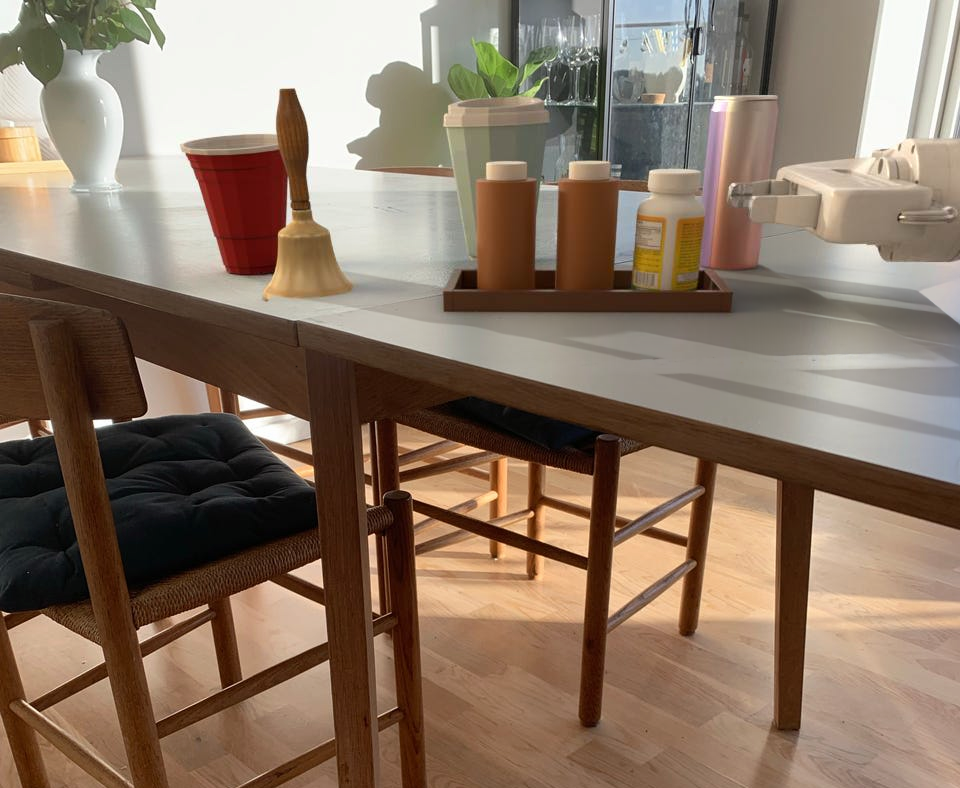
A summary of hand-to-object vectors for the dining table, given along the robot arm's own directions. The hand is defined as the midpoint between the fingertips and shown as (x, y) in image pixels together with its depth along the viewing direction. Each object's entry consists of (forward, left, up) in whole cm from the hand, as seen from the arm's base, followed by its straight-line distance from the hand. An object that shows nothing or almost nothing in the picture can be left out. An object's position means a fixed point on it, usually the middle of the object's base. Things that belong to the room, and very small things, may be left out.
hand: (738, 201), depth 75 cm
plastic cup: (+42, -22, -8) cm, 48 cm away
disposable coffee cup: (+17, -25, -8) cm, 32 cm away
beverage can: (-5, -16, -8) cm, 19 cm away
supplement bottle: (+5, 0, -8) cm, 9 cm away
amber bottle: (+12, -1, -7) cm, 14 cm away
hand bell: (+35, -8, -8) cm, 37 cm away
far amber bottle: (+18, -2, -7) cm, 20 cm away
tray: (+12, -1, -8) cm, 14 cm away
